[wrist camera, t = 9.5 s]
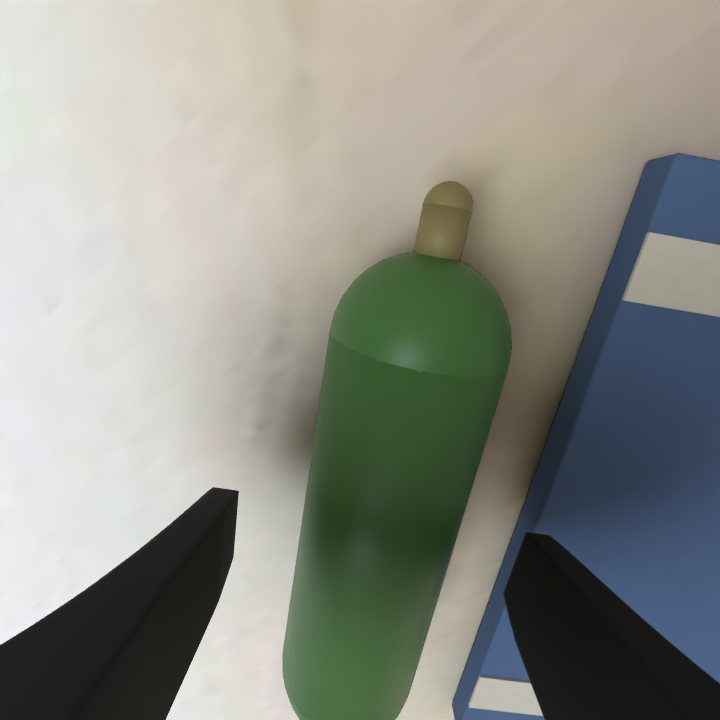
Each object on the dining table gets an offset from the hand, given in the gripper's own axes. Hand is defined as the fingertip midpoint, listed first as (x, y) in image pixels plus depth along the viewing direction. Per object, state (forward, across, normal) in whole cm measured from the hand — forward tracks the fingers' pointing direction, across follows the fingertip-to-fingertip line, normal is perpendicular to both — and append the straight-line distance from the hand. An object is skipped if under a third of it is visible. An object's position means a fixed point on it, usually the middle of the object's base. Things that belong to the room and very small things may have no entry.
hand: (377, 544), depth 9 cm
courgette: (+3, 0, 0) cm, 3 cm away
